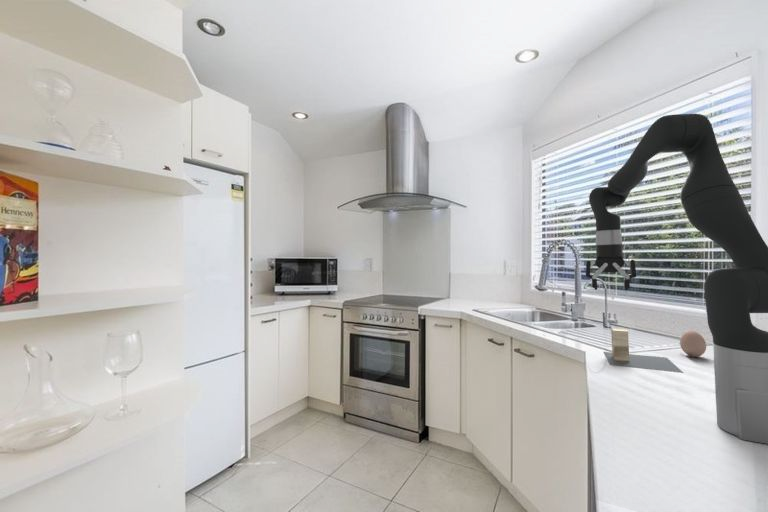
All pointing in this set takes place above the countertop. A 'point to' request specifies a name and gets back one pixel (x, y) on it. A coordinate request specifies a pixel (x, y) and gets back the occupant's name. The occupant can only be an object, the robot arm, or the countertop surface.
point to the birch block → (620, 344)
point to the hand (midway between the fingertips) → (610, 289)
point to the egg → (693, 343)
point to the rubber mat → (645, 362)
